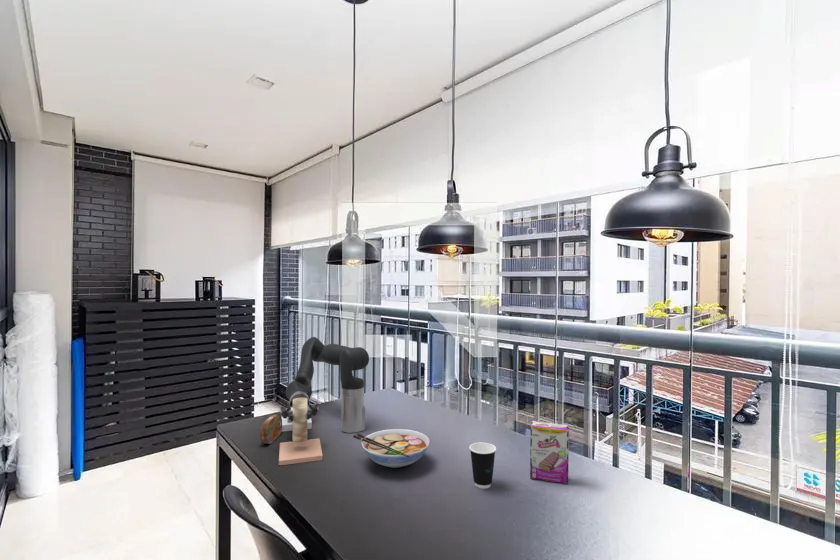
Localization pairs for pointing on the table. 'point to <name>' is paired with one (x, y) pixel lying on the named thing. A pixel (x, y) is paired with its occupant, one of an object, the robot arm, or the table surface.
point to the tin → (271, 429)
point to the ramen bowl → (394, 446)
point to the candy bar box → (549, 452)
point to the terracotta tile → (300, 452)
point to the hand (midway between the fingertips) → (300, 417)
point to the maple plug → (299, 419)
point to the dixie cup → (482, 463)
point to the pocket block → (288, 424)
